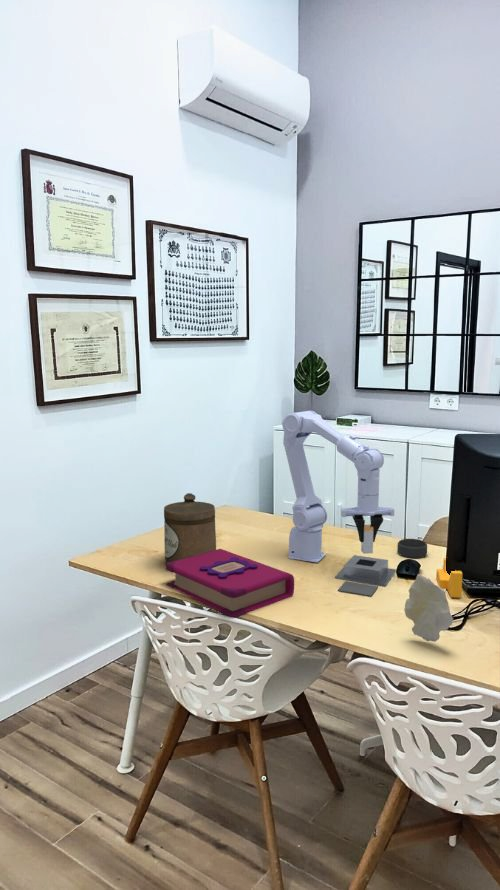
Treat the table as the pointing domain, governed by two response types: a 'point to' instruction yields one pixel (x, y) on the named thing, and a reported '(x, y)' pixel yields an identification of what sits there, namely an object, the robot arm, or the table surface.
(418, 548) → the smart speaker
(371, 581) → the block
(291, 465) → the robot arm
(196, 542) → the wooden container
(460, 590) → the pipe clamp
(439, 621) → the stone tool
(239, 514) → the table surface
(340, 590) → the mat
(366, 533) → the orange and grey block
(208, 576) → the book
